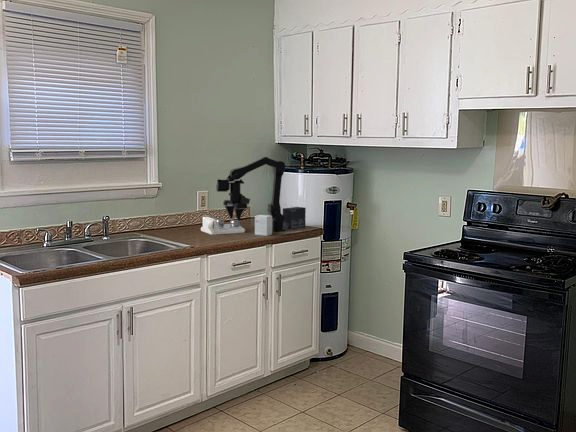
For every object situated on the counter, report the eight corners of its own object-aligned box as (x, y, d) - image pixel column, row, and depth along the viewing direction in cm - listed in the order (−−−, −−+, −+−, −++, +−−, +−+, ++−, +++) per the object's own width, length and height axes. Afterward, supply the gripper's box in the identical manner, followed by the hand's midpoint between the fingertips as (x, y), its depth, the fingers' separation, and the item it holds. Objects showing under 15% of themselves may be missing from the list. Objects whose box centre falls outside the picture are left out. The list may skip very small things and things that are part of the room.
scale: (244, 232, 335) (245, 218, 334) (209, 234, 324) (209, 220, 323) (233, 228, 348) (233, 214, 347) (198, 230, 337) (198, 216, 336)
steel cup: (240, 226, 336) (240, 221, 335) (232, 226, 333) (232, 221, 333) (237, 225, 340) (237, 219, 340) (228, 225, 338) (228, 220, 337)
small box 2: (297, 226, 363) (297, 206, 361) (305, 227, 358) (306, 207, 356) (281, 228, 353) (282, 208, 352) (290, 229, 348) (290, 209, 347)
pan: (242, 228, 336) (242, 226, 336) (222, 229, 330) (222, 227, 330) (232, 225, 346) (232, 223, 346) (213, 226, 340) (213, 224, 340)
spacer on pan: (225, 225, 338) (225, 220, 338) (217, 225, 336) (217, 220, 335) (221, 224, 342) (221, 218, 342) (213, 224, 340) (213, 219, 339)
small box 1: (272, 234, 330) (272, 215, 328) (266, 236, 325) (267, 216, 324) (260, 233, 334) (260, 214, 332) (254, 234, 329) (254, 215, 328)
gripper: (256, 192, 330) (255, 221, 332) (240, 189, 346) (240, 216, 348) (237, 193, 325) (237, 222, 327) (223, 190, 340) (222, 217, 343)
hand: (234, 219), depth 336 cm, fingers open, 9 cm apart
